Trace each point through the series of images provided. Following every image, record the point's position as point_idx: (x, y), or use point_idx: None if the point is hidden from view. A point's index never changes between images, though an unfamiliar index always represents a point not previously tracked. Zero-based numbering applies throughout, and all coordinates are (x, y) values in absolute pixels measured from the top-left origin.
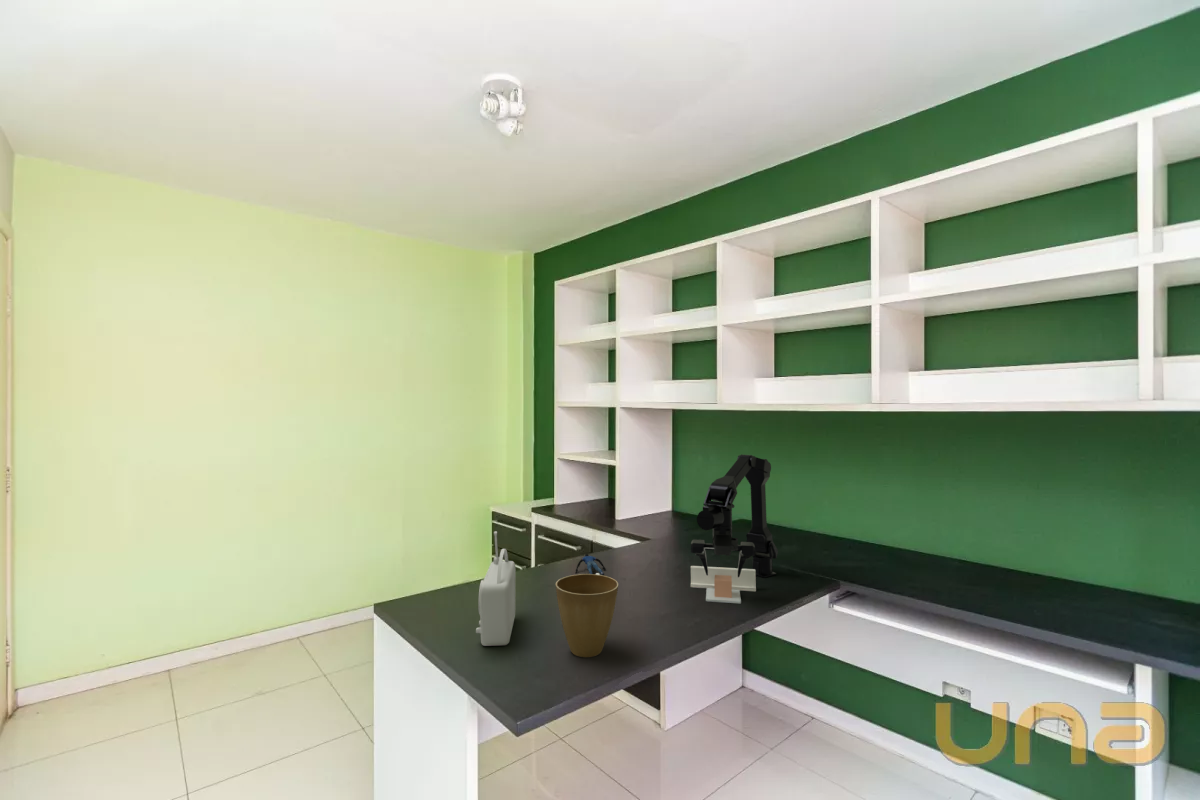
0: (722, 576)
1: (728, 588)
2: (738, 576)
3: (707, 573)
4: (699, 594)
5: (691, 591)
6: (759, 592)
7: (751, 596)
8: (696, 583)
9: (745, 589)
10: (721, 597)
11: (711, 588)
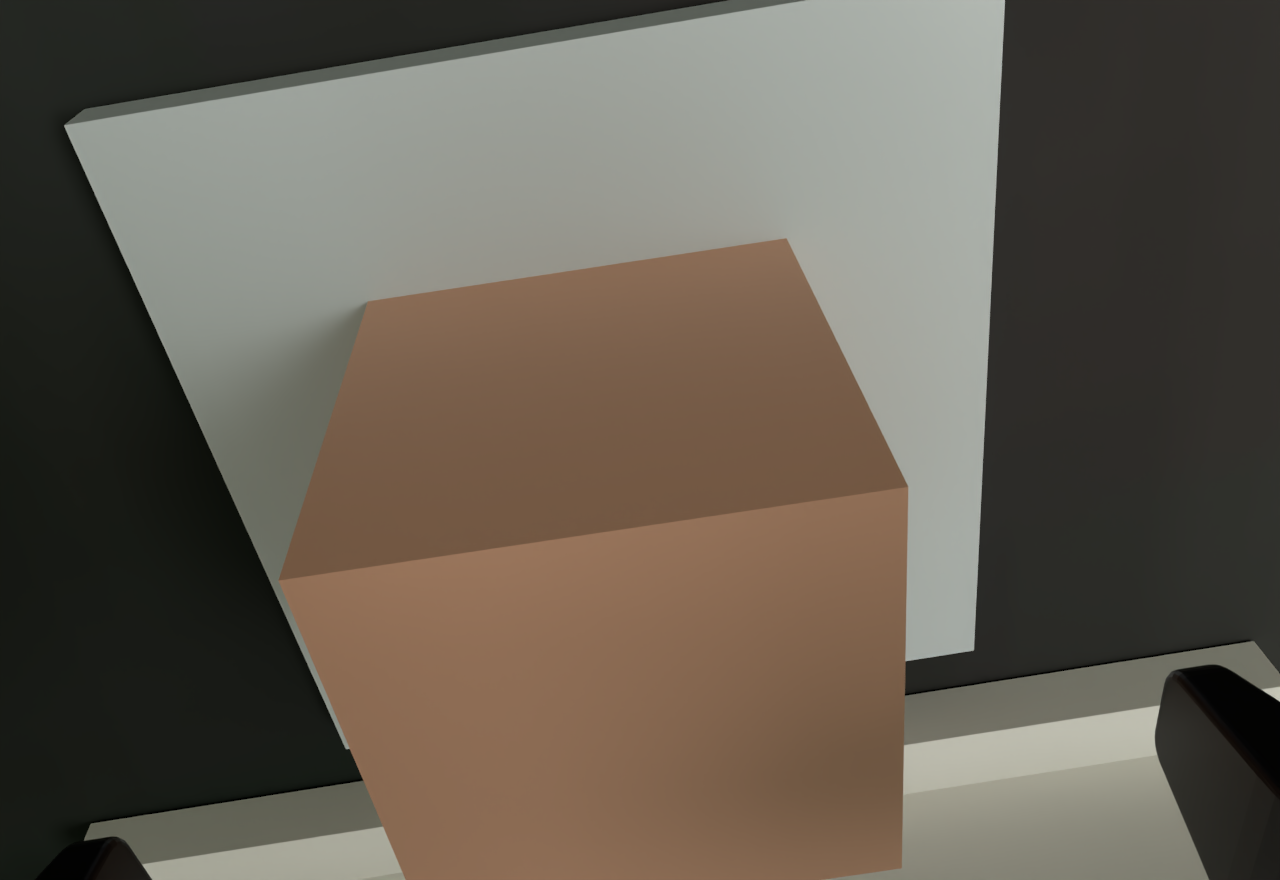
0: (668, 829)
1: (423, 412)
2: (79, 858)
3: (1227, 709)
4: (1117, 360)
5: (1270, 461)
6: (17, 806)
7: (61, 605)
8: None
9: (266, 815)
10: (612, 237)
11: None
